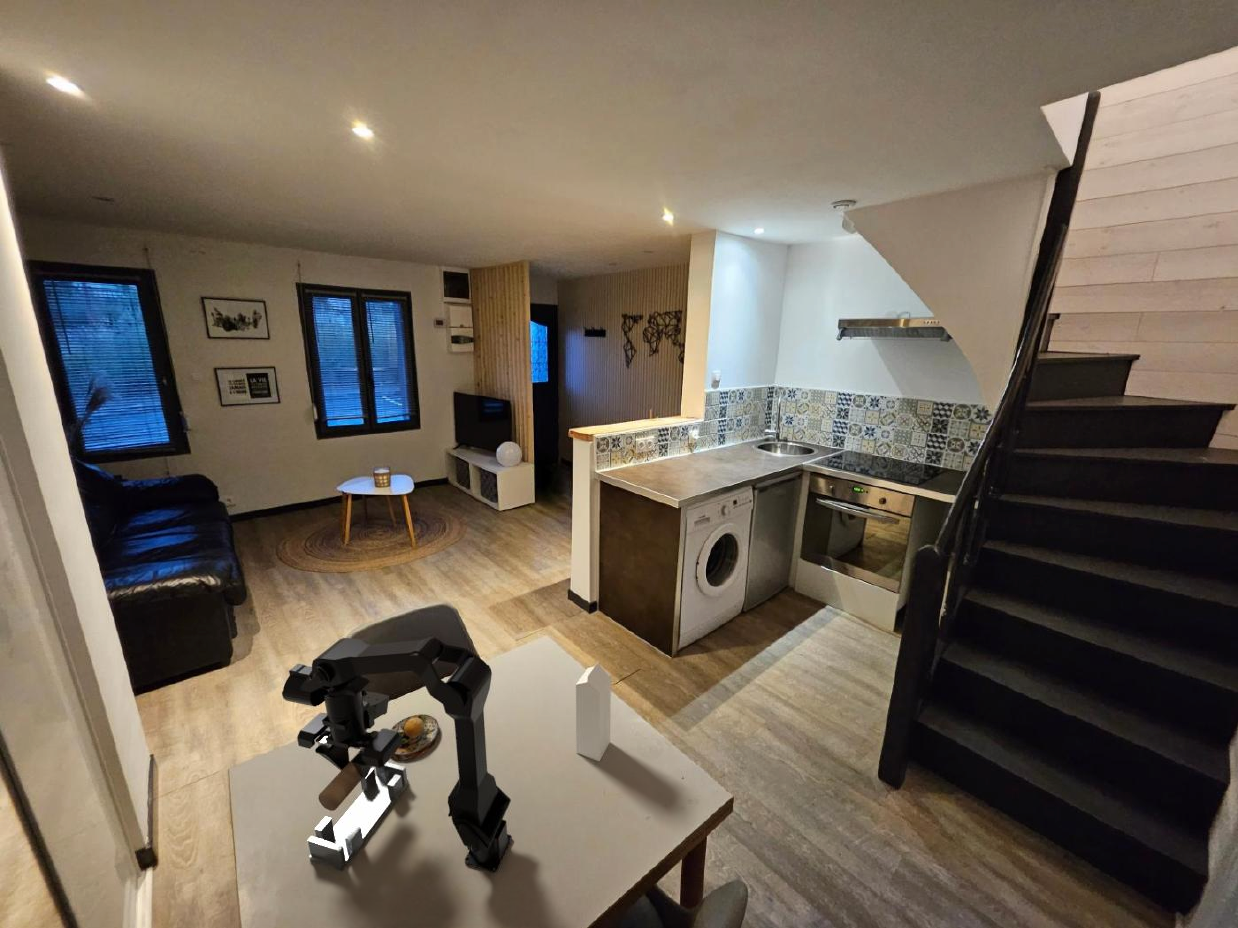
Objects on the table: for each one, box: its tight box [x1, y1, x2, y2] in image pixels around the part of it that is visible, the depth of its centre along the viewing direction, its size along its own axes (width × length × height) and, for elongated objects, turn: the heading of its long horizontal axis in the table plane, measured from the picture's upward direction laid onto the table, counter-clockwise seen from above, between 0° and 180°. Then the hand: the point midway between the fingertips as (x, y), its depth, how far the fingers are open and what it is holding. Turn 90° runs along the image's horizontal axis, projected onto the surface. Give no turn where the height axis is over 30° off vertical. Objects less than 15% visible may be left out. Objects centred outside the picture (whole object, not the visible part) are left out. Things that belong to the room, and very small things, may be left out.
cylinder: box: [318, 751, 374, 812], centre depth 91 cm, size 13×4×4 cm, turn 166°
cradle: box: [307, 761, 409, 872], centre depth 94 cm, size 8×18×4 cm, turn 166°
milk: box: [575, 660, 612, 762], centre depth 108 cm, size 6×6×22 cm
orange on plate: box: [390, 713, 441, 761], centre depth 112 cm, size 12×12×8 cm
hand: (356, 773), depth 91 cm, fingers closed on cylinder, 4 cm apart
